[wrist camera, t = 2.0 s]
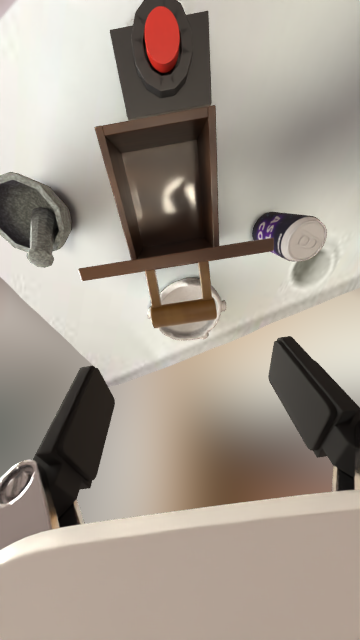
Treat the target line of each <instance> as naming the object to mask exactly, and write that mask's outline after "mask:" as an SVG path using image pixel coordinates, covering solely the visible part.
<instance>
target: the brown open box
mask: <svg viewBox="0 0 360 640" xmlns="http://www.w3.org/2000/svg"><path fill="white" fill-rule="evenodd" d="M95 131H96V134H97V138H98V142H99V145H100V149H101V152H102V156H103V160H104V163H105V167H106V170H107V174H108V177H109V181H110V185H111V188H112V192H113V195H114V199H115V203H116V206H117V210H118V213H119V217H120V221H121V224H122V228H123V231H124V235H125V239H126V242H127V246H128V249H129V253H130V257H131V260H136V259H142V258H148V257H155V256H161V255H167V254H173V253H180V252H186V251H192V250H198V249H205V248H211V247H217V246H219V221H218V183H217V145H216V108H215V105H213V106H208V107H202V108H196V109H191V110H185V111H180V112H174V113H169V114H163V115H158V116H152V117H147V118H141V119H136V120H130V121H125V122H119V123H114V124H108V125H103V126H97V127H95Z"/></svg>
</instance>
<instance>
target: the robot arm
mask: <svg viewBox="0 0 360 640" xmlns="http://www.w3.org/2000/svg"><path fill="white" fill-rule="evenodd" d="M269 381H270V383H271V385H272V387H273V388H274V390H275V392H276V394H277V395H278V397H279V399H280V400H281V402H282V404H283V406H284V407H285V409H286V411H287V413H288V414H289V416H290V418H291V420H292V422H293V423H294V425H295V427H296V428H297V430H298V432H299V434H300V435H301V437H302V439H303V441H304V442H305V444H306V445H307V447H308V448H309V449H310V450H313V451H314V453H315V455H316V456H317V457H324V456H328V458H329V459H330V461H331V462H332V464H333V465H334V468H333V481H332V492H327V493H317V494H308V495H299V496H291V497H283V498H275V499H267V500H259V501H251V502H243V503H235V504H227V505H220V506H213V507H204V508H196V509H189V510H182V511H174V512H166V513H159V514H151V515H144V516H137V517H129V518H122V519H114V520H107V521H100V522H94V523H87V524H85V522H84V519H83V517H82V513H81V511H80V508H79V505H78V502H77V496H78V492H79V489H86V488H90V487H91V483H92V480H94V479H95V477H96V475H97V472H98V467H99V464H100V460H101V456H102V452H103V448H104V444H105V440H106V436H107V432H108V428H109V424H110V421H111V416H112V413H113V409H114V404H115V402H114V397H113V396H112V394H111V392H110V390H109V388H108V386H107V384H106V383H105V381H104V379H103V377H102V375H101V373H100V371H99V370H98V368H95V367H94V366H88V367H82V368H80V370H79V372H78V373H77V376H76V377H75V379H74V381H73V383H72V385H71V387H70V389H69V391H68V393H67V395H66V397H65V399H64V400H63V402H62V404H61V406H60V408H59V410H58V412H57V414H56V416H55V418H54V420H53V422H52V424H51V425H50V428H49V429H48V431H47V433H46V435H45V437H44V439H43V441H42V443H41V445H40V447H39V449H38V451H37V453H36V454H35V457H34V458H33V460H25V461H22V462H20V463H18V464H17V465H15V466H13V467H12V468H11V469H10V470H9V471H8V472H6V474H5V475H4V476H3V477H2V478H1V479H0V640H360V408H359V406H358V405H357V404H356V403H355V402H354V401H353V400H352V399H351V398H350V397H349V396H348V395H347V394H346V393H345V392H344V390H343V389H341V387H340V386H339V385H338V384H337V383H336V382H335V381H334V380H333V379H332V378H331V377H330V376H329V375H328V374H327V373H326V371H325V370H324V369H323V368H322V367H321V366H320V365H319V364H318V363H317V362H316V361H314V360H313V359H312V358H311V357H310V356H309V355H308V354H307V353H306V352H305V351H304V350H303V348H302V347H301V346H300V345H299V344H298V343H297V342H296V341H295V340H294V339H293V338H292V337H290V336H288V337H281V338H278V339H277V341H275V342H274V346H273V352H272V358H271V364H270V370H269Z"/></svg>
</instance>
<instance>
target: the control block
mask: <svg viewBox="0 0 360 640" xmlns="http://www.w3.org/2000/svg"><path fill="white" fill-rule="evenodd" d="M159 6H163V7H166V8H167V9H169V10H170V11H171V12H172V13H173V15H174V16H175V18H176V21H177V23H178V27H179V33H180V42H179V54H178V59H177V62H176V64H175V66H174V67H173V69H172V70H170V71H169V72H167V73H161V72H158V71H157V70H155V69H154V68H153V66H152V65H151V63H150V61H149V59H148V55H147V51H146V44H145V24H146V20H147V17H148V15H149V14H150V12H151V11H152V10H153V9H154V8H156V7H159ZM110 34H111V39H112V44H113V49H114V54H115V59H116V63H117V68H118V73H119V78H120V83H121V88H122V93H123V97H124V102H125V107H126V112H127V117H128V120H129V121H130V120H136V119H141V118H147V117H152V116H158V115H163V114H169V113H174V112H180V111H185V110H191V109H196V108H202V107H208V106H211V76H210V47H209V18H208V11H205V12H199V13H194V14H189V15H186V14H185V12H184V10H183V7H182V5H181V3H179V2H178V1H177V0H144V1H143V2H142V4H141V5H140V7H139V8H138V10H137V11H136V13H135V18H134V24H133V26H128V27H123V28H118V29H113V30H110Z"/></svg>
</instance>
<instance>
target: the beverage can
mask: <svg viewBox="0 0 360 640" xmlns="http://www.w3.org/2000/svg"><path fill="white" fill-rule="evenodd" d="M252 236H253V240H254V241H255V240H261V239H267V238H274V250H273V251H270V252H272V253H274V254H276V255H278V256H280V257H282V258H284V259H286V260H289V261H304V260H307V259H310V258H312V257H313V256H315V255H316V254H317V253H318V252H319V251H320V250H321V248H322V247H323V245H324V243H325V241H326V237H327V230H326V227H325V225H324V224H323V223H322V222H320V220H319V219H317V218H316V217H313V216H306V215H297V214H287V213H278V212H269V213H266V214H264V215H262V216H261V217H260V218H259V219H258V220H257V222H256V223H255V225H254V227H253V232H252Z"/></svg>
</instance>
